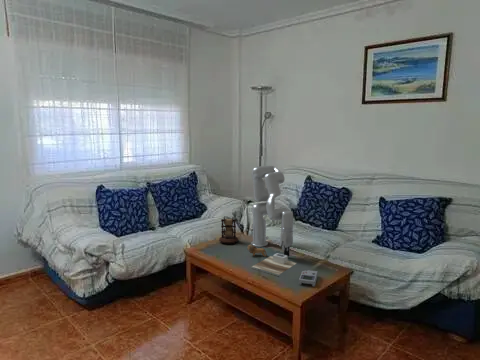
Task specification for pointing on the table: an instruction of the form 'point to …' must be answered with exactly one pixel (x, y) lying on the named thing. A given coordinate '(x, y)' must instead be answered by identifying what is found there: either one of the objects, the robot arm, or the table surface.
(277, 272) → the plywood board
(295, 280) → the table surface
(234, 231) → the brown upright piece
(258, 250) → the lion figurine
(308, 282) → the handheld gaming device
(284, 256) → the block
